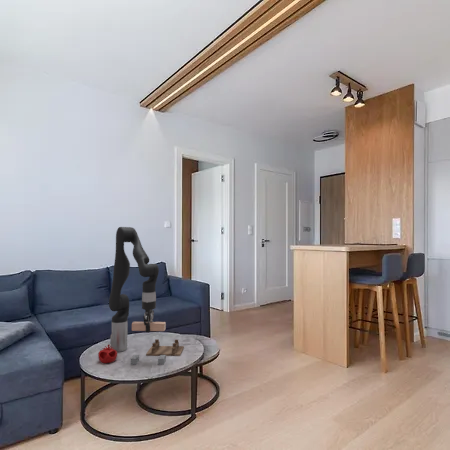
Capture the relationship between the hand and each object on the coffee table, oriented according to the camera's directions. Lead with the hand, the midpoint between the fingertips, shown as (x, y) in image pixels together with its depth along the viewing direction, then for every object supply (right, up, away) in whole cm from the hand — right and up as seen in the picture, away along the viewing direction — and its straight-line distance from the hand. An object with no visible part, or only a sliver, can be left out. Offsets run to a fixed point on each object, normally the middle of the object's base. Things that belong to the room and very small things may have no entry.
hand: (148, 331), depth 187 cm
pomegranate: (-23, -17, +1) cm, 29 cm away
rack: (+7, -17, +16) cm, 25 cm away
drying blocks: (0, -17, -1) cm, 17 cm away
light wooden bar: (0, +1, 0) cm, 1 cm away
